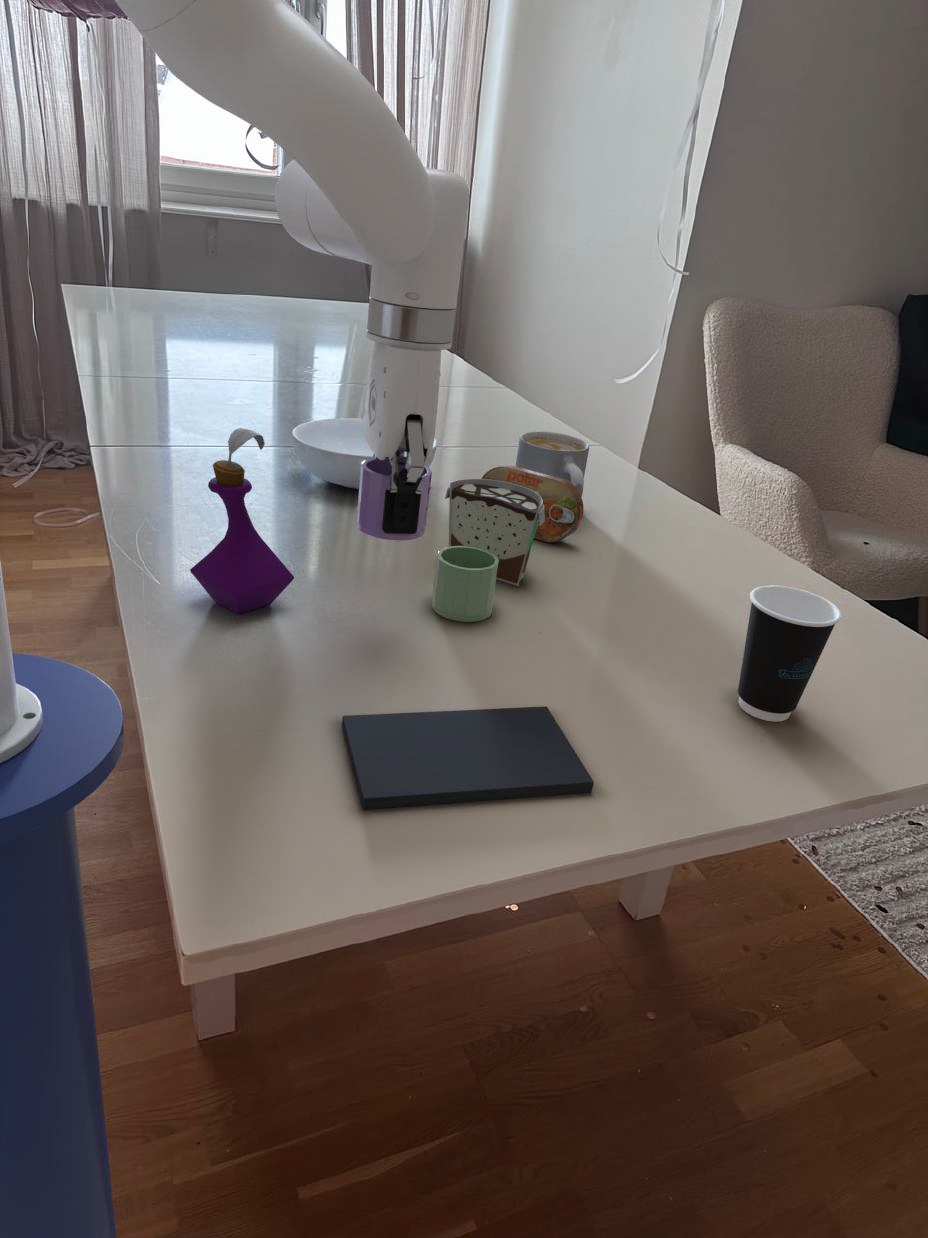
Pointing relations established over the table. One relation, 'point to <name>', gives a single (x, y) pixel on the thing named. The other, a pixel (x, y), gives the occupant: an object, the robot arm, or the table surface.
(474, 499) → the food container
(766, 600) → the dixie cup
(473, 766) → the placemat
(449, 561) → the sage cup
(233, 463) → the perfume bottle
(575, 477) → the coffee mug
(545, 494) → the tin
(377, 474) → the lavender cup
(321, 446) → the serving bowl
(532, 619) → the table surface
